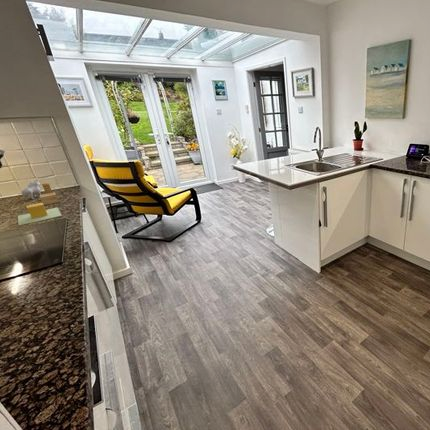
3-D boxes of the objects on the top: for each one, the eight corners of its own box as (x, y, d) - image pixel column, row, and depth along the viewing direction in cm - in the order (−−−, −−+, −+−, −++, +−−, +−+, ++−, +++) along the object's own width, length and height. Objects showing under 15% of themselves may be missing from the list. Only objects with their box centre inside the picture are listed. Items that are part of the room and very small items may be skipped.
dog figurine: (47, 194, 181) (41, 179, 177) (32, 199, 170) (25, 183, 166) (38, 194, 180) (31, 179, 176) (23, 200, 169) (15, 184, 165)
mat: (18, 216, 142) (17, 215, 142) (57, 208, 153) (57, 207, 153) (18, 225, 130) (18, 225, 130) (62, 216, 141) (61, 215, 140)
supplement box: (48, 198, 171) (41, 184, 167) (47, 197, 173) (41, 183, 169) (55, 197, 173) (48, 182, 169) (54, 196, 175) (48, 182, 171)
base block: (42, 202, 163) (39, 195, 161) (57, 199, 168) (54, 192, 166) (43, 205, 159) (39, 197, 157) (59, 202, 164) (55, 194, 162)
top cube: (31, 215, 141) (26, 205, 139) (46, 212, 145) (42, 202, 143) (32, 218, 137) (26, 207, 135) (47, 215, 141) (43, 204, 139)
